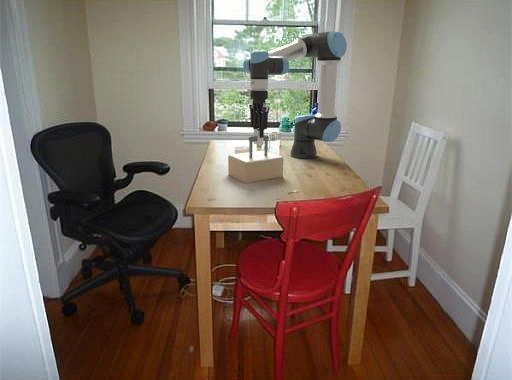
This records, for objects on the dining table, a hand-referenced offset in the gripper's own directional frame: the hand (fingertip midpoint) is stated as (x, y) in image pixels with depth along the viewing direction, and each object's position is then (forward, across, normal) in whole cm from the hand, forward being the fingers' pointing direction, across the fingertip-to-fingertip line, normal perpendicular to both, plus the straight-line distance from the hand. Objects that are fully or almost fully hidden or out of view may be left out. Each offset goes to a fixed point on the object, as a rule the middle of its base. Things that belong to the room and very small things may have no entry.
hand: (258, 143), depth 162 cm
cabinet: (+15, -2, 0) cm, 16 cm away
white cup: (+16, -18, +2) cm, 24 cm away
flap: (+7, +2, 0) cm, 7 cm away
